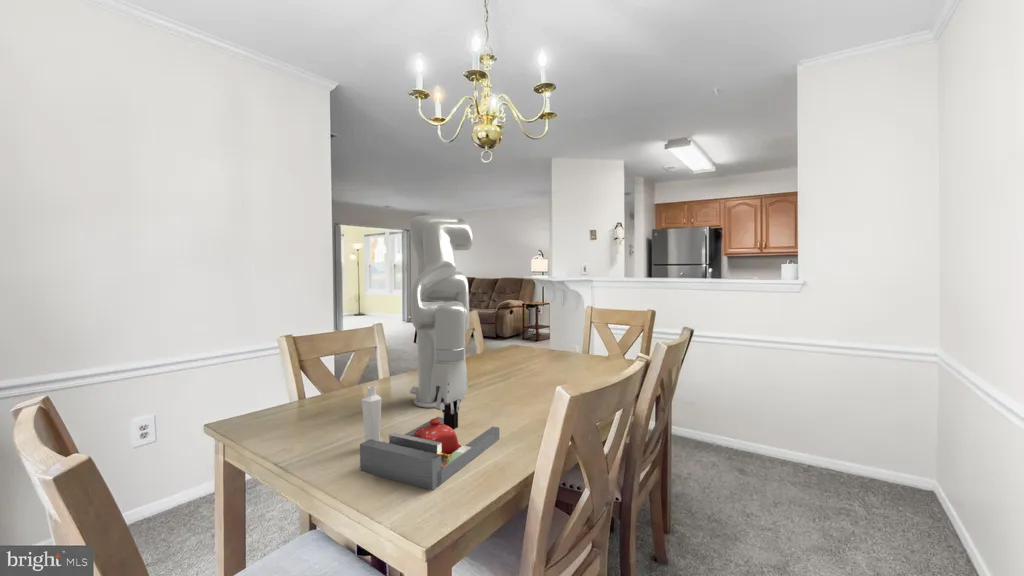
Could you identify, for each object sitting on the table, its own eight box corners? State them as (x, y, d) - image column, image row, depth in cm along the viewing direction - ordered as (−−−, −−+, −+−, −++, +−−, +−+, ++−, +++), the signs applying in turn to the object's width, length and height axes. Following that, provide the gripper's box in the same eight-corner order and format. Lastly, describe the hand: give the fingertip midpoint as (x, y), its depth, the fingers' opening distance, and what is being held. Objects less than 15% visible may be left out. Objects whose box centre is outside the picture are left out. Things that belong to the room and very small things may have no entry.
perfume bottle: (377, 442, 110) (375, 383, 109) (385, 447, 107) (384, 387, 106) (359, 447, 107) (358, 387, 106) (367, 453, 104) (366, 390, 103)
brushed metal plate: (389, 461, 98) (389, 435, 98) (394, 458, 100) (394, 432, 100) (447, 475, 92) (446, 447, 91) (451, 472, 93) (451, 444, 93)
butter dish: (403, 451, 105) (403, 416, 105) (447, 440, 112) (447, 407, 111) (421, 469, 96) (421, 431, 95) (468, 457, 102) (468, 421, 102)
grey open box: (360, 471, 95) (359, 444, 94) (438, 427, 120) (437, 405, 120) (432, 490, 86) (432, 460, 86) (499, 439, 112) (499, 416, 112)
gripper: (454, 348, 116) (454, 416, 117) (418, 359, 103) (419, 435, 104) (478, 350, 113) (479, 420, 114) (445, 362, 100) (446, 441, 100)
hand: (451, 427), depth 109 cm, fingers closed
